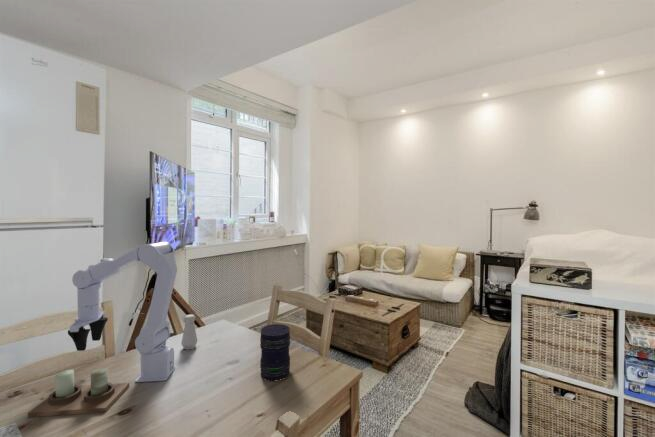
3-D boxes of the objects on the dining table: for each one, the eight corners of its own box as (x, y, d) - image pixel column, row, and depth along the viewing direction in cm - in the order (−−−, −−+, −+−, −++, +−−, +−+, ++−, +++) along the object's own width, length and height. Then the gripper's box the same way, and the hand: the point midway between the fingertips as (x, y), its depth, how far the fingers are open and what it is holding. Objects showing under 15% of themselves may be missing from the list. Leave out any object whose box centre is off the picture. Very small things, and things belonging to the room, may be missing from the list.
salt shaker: (191, 351, 117) (191, 318, 117) (178, 350, 119) (178, 317, 118) (200, 345, 123) (200, 313, 123) (187, 344, 124) (187, 312, 124)
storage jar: (263, 384, 96) (263, 337, 95) (257, 369, 105) (257, 326, 104) (293, 377, 100) (294, 332, 99) (285, 363, 109) (285, 322, 108)
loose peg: (77, 393, 89) (77, 369, 88) (67, 401, 85) (67, 376, 84) (63, 393, 88) (62, 369, 88) (51, 402, 84) (51, 377, 84)
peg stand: (129, 386, 94) (129, 360, 94) (105, 412, 82) (105, 382, 82) (62, 390, 92) (61, 363, 92) (27, 417, 80) (27, 386, 80)
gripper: (90, 298, 108) (90, 336, 108) (59, 312, 94) (59, 355, 94) (111, 298, 109) (111, 335, 109) (83, 311, 94) (84, 354, 95)
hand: (89, 345), depth 102 cm, fingers open, 7 cm apart
